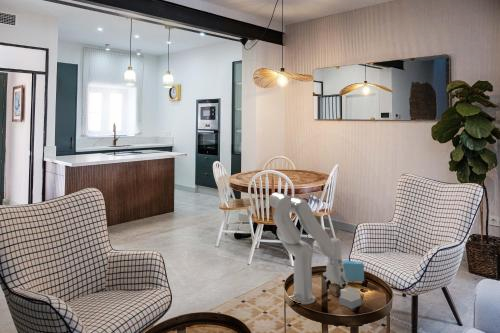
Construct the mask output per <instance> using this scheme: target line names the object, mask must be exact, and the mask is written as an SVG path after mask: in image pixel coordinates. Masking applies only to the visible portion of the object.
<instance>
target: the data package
mask: <svg viewBox="0 0 500 333" xmlns="http://www.w3.org/2000/svg"><path fill="white" fill-rule="evenodd" d="M342 264H343V266H344V271H345V278H346V279H347V280H348V281H364V282H365V264H364V262H362V261H355V260H354V261H353V260H352V261H351V260H343V263H342Z"/></svg>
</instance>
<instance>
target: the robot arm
mask: <svg viewBox="0 0 500 333" xmlns="http://www.w3.org/2000/svg"><path fill="white" fill-rule="evenodd" d="M268 203H269V205H270V206H271V207H272V208H274V211H273V216H272V217H273V222H274V224H275V226H276V227H277V228H276V235H277V239H279V241H280V242H281V244H282V246H283V247H284V248H285V250H286V251H287V252H288V254H290V255H292V256H293V257H294V262H293V286H294V287H293V289H294V290H293V292H292V294H291V295H290V296H288V297H290V298H292V299H294V300H297V301H298V302H300V303H302V304H301V305H309V304H313V303H314V302H316V297H315V295H313V280H312V279H313V275H312V274H313V273H312V272H313V271H312V269H313V268H312V263H313V256H314V252H316V253H318V254H320V255H322V256H324V257H326V258H327V264H326V268H325V269H326V270H325V271H324V272H322V275H323V279H324V281H325V283H326V284H325V285H326V290H329V285H330V284H332V283H337V284H340V286H341V287H340V290H341V289H344V288H346V287H347V285H348V284H349V283H348V280H347V279H346V278H345V271H344V266H343V262H344V260H342V259H343V257H342V256H343V254H342V253H343V252H342V241H341V239H340V238H337V237H331V236H330V235H329V233H328V232H327V231H326V230H325V229H324V227H323V226H322V225H321V224H320V223H319V220H318V219H317V218H316V215H315V213H314V212H313V210H312V208H311V207H310V204H309V203H308V202H307V200H305V199H304V198H303V199H302V198H298V197H295V196H292V195H287V194H285V193H281V192H274V193H271V194H270V195H269V197H268ZM290 213H293V214H295V215H296V217H297V219H298V220H299V222H300V225H301V227H302V229H303V230H304V231H305V232H306V234H308V235H309V236H311V237H312V238H313V240H314V241H313V242H312V246H311V245H310V244H309V243H308V242H306V241H304V240H302V239H301V236H302V235H301V232H300V230H299V229H298V227H297V225H296V224H295V223H294V221H293V219H292V217H291V215H290ZM313 250H314V252H313ZM344 281H345V282H344ZM340 295H341V291H340Z"/></svg>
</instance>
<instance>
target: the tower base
mask: <svg viewBox="0 0 500 333" xmlns="http://www.w3.org/2000/svg"><path fill="white" fill-rule="evenodd" d="M362 302H363V300H362V297H361V296H360V299H357V300H355V301H352V302H350V301H348V300H346V299H343V298H341V295H339V297H338V304H339V305H340V306H343V307H345V308H348V309H349V310H353V309H355V308H357V307H360V306H362Z"/></svg>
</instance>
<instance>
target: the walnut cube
mask: <svg viewBox="0 0 500 333" xmlns="http://www.w3.org/2000/svg"><path fill="white" fill-rule="evenodd" d="M340 287H341V286H340V284H339V283H336V282H331V284H330V285H329V289H328V294H330V295H333V296H335V297H338V296H341V294H340Z"/></svg>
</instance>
